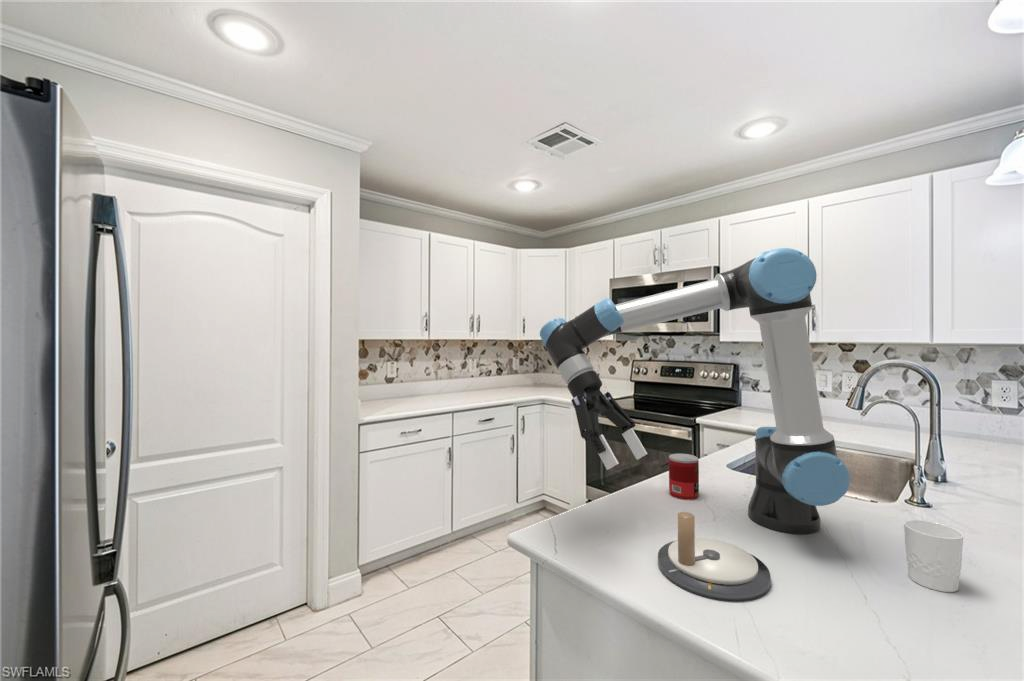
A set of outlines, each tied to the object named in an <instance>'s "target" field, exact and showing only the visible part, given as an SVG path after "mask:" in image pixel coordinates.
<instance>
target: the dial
mask: <svg viewBox="0 0 1024 681" xmlns="http://www.w3.org/2000/svg"><path fill="white" fill-rule="evenodd" d="M695 526H696V525H695V515H694V514H692V513H690V512H685V511H682V512H678V513H677V539H676V540H677V541H676V540H673V541H674V542H673V541H672V542H673V543H672V544H671V545H670V546H669V548H668V557H669V560H670V561H671V563H672V564H673V565H674V566H675V567H676V568H677V569H679V570H680V571H682V572H683V573H685V574H687V575H689V576H691V577H694V578H697V579H699V580H703V581H706V582H711V583H716V584H724V585H737V584H743V583H747V582H750V581H752V580H754V579H755V578H756V577H757V575H758V563H757V561H756V560H755V558H754V557H753V556H754V555H753V554H752V555H753V556H752V555H751V553H750V552H748V551H747V550H745V549H744V548H741V547H739V546H737V545H735V544H732V543H730V542H726V541H724V540H719V539H714V538H710V537H709V538H708V537H699V536H698V537H697V536H696V537H695V534H696V533H695V532H696V531H695V528H696V527H695ZM749 553H750V554H749Z"/></svg>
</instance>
